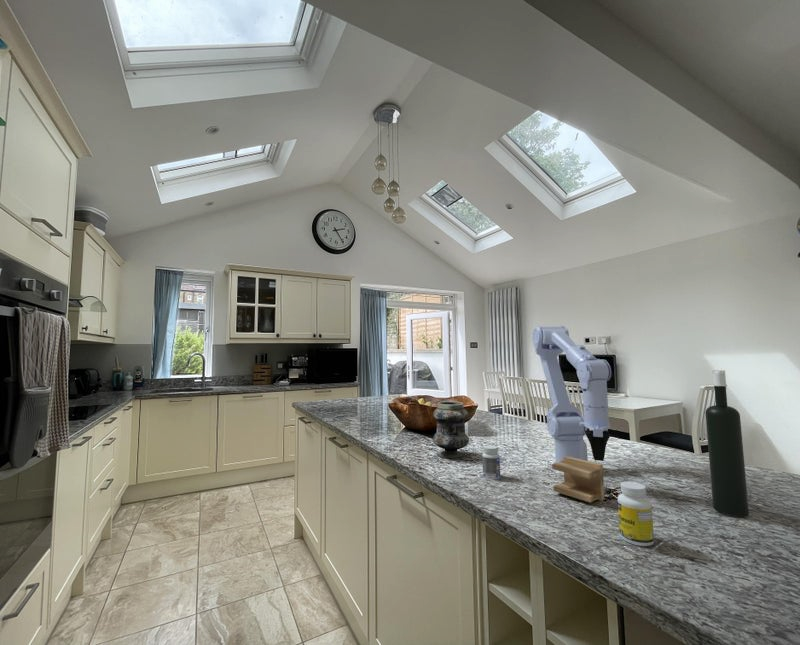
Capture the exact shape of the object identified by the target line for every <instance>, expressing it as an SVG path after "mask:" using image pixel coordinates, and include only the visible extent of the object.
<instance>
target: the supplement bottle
mask: <svg viewBox="0 0 800 645" xmlns="http://www.w3.org/2000/svg"><path fill="white" fill-rule="evenodd" d="M646 488H647V487H646V486H645V485H644V484H642V483H639V482H635V481H622V482H621V483H620V491H621V492H622V493H620V494H618V495H617V511H618V512H617V513H618V528H619V535H620V538H622V540H624V541H625V542H627V543H629V544H632V545H635V546H638V547H649V546H653V545H654V543H655V535H654V534H655V531H654V521H653V520H654V517H653V507H652V506H653V505H652V504H653V503H652V501H651V500H650V499H649V498H648V497H647V489H646Z"/></svg>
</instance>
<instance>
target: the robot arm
mask: <svg viewBox="0 0 800 645" xmlns="http://www.w3.org/2000/svg"><path fill="white" fill-rule="evenodd" d="M531 340H532V343H533V347H534V350H535V355H538V356H539V357H540V358H539V359H540V362H541V365H542V369H543V373H544V377H545V381H546V385H547V389H548V391H549V395H550V396H549V397H550V399H551V403H552V407H551V408H550V409H549V410H548V411H547V413H546V425H547V426H546V427H547V431H548V434H550V435H551V437H552V438H554V455H555V456H554V458H555V463H557V462H560V461H563V457H565V456H568V457H573V458H577V459H581V460H586V461H589V460H588V458H589V457H588V446H587V442H586V441H585V439H584V437H585V436H586V438H587V440H588V442H589V445H590V448H591V453H592V457H593V460H594V461H600V462H603V461H604V460H605V456H606V448H607V443H608V441H609V439H610V437H611V433H610V431H609V430H608V429H611V424H610V420H609V419H610V417H609V416H610V415H609V400H608V399H609V398H608V383H607V382H608V381H610V379H611V377H612V367H611V365H610V364H609V362H608V361H607V359H600V358H596V356H595V355H593V354H592V353H591V352H590V351H589V350H587V349H586V346H584V344H581V345H580V344H576V343H575V342H574V341H573V339H572V338H571V337H570V332H569V330H568V328H566V326H565V325H560V326H556V325H555V326H539V325H537V326H535V327H534V329H533V331H532V336H531ZM563 352H564V353H565V357H566V360H567V361H568V362H569V363H570V365H572V366H573V368H575V370H576V375H577V378H578V381H579V387H580V389H581V390H582V401H583V403H582V406H583V407H582V408H583V415H582V412H581V410H580V408H578V407H576V406H575V405H573V404H572V403H571V400H570V397H569V393H568V390H567V387H566V383H565V380H564V376H563V373H562V370H561V366H560V363H559V360H558V356H560V355H561V354H563ZM588 429H589V430H588ZM549 468H550V469H552V464H551V465H549Z"/></svg>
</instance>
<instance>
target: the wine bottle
mask: <svg viewBox="0 0 800 645" xmlns="http://www.w3.org/2000/svg"><path fill="white" fill-rule="evenodd" d="M711 372H712V382H713V383H712V384H713V388H714V399H715V400H714V402H715V405H710V406H709V407H707V408H706V410H705V412H704V413H705V423H706V436H707V447H708V448H707V450H708V460H709V470H710V484H711V496H712V508H713V509H715V510H716V511H718V512H720V513H722V514H725V515H730V516H733V517H735V516H736V517H748V516H749V515H750V512H749V511H750V509H749V501H748V500H749V498H748V489H747V487H748V486H747V479H746V478H747V477H746V476H747V475H746V466H745V454H744V446H743V445H744V444H743V443H744V442H743V433H742V425H741V424H742V423H741V422H742V421H741V414H740V412H739V411H738V410H737V409H736V408H735V407H732V406H729V405H728V397H727V396H728V395H727V387H726V386H727V380H726V377H727V376H726V370H722V369H721V370H718V369H715V370H711Z"/></svg>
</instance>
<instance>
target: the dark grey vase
mask: <svg viewBox="0 0 800 645" xmlns="http://www.w3.org/2000/svg"><path fill="white" fill-rule="evenodd" d="M432 416H433V418H434V419H435V420H436V433H434V435H433V437H432V442H433V443H434V445H435V446H437V447H438V448H441V449H443V450H442V451H441V452H438V453H437V454H436V456H437V457H438V458H440V459H444V460H453V461H454V460H461V459H465V458H467V456H466V454H465V453H464V452H462V451H459V450H461V449H463V448H466V446H468V444H469V443H470V438H469V436H468V435H467V434H466V425H465V424H466V420H467V419H468V418H469V412H468V411H467V410H466V409H465V407H464V403H463V402H461V401H456V400H455V401H453V400H452V401H451V400H443V401H438V403H437V408H436V409H434V411H433V415H432Z"/></svg>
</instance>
